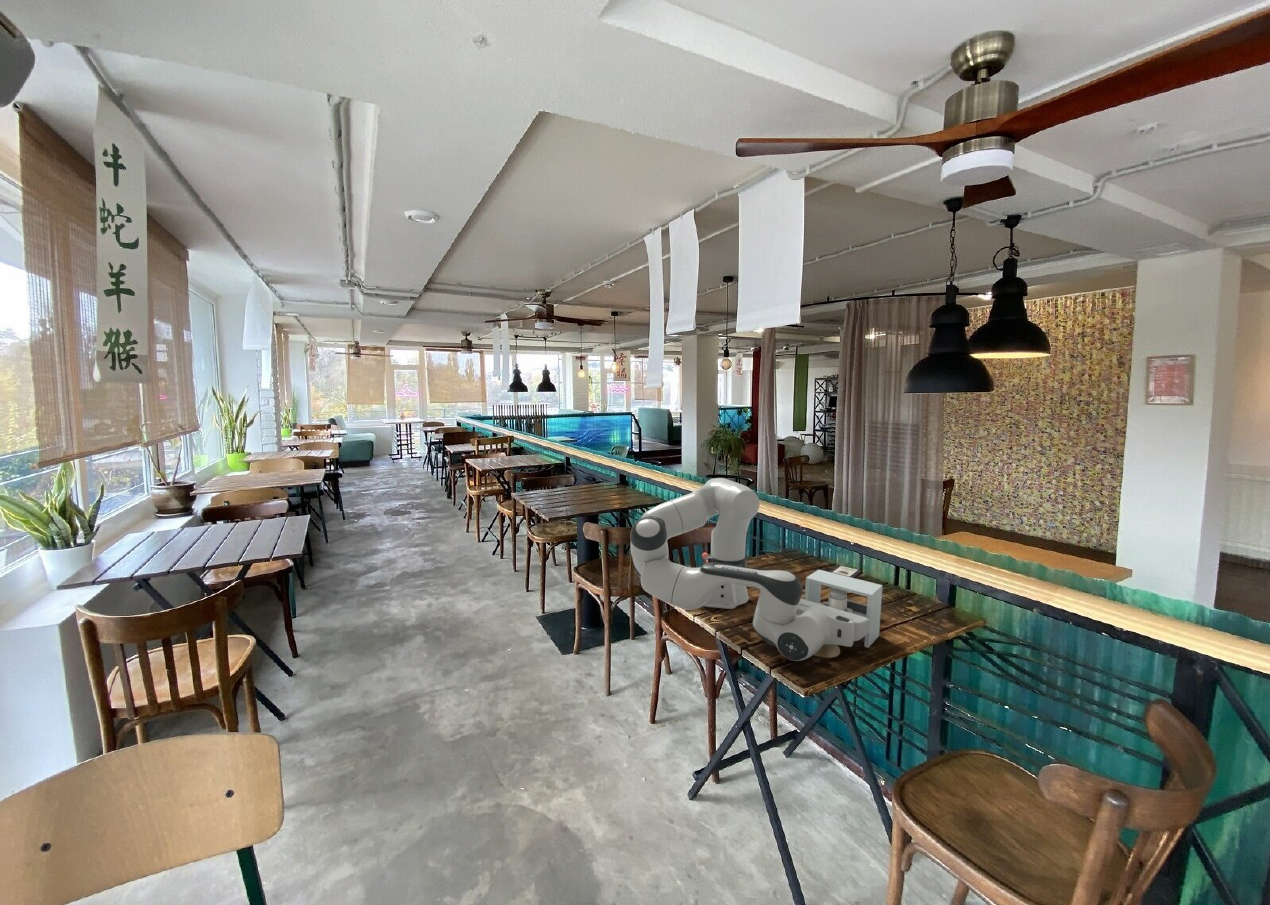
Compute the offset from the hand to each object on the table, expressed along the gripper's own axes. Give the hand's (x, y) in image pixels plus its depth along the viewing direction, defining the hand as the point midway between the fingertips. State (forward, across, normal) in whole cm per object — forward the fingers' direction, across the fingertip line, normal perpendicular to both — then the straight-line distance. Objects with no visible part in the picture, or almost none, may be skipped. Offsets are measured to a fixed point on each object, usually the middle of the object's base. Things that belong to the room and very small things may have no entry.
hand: (838, 607), depth 142 cm
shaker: (-1, 0, -6) cm, 6 cm away
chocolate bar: (+47, -16, -8) cm, 50 cm away
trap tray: (+14, 0, -8) cm, 16 cm away
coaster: (-11, 0, -8) cm, 13 cm away
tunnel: (+3, 0, -8) cm, 8 cm away
